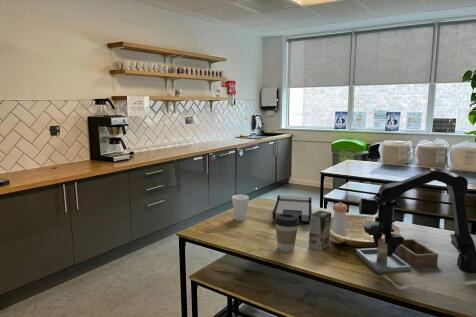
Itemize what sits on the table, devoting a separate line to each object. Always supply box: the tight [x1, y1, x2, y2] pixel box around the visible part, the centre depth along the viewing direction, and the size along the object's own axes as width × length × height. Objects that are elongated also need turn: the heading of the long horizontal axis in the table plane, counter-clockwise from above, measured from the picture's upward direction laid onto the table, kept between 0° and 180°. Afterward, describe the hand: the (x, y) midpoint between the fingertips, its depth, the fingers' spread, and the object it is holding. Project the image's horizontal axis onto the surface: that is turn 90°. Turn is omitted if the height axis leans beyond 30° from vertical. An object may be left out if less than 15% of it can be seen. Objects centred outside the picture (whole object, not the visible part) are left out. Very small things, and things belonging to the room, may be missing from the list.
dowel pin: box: [377, 238, 387, 263], centre depth 143 cm, size 4×4×9 cm
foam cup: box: [231, 194, 250, 222], centre depth 195 cm, size 10×9×13 cm
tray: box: [355, 247, 412, 275], centre depth 143 cm, size 18×14×2 cm
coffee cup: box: [273, 214, 300, 253], centre depth 156 cm, size 11×11×15 cm
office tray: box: [272, 195, 313, 225], centre depth 201 cm, size 21×32×8 cm, turn 168°
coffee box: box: [308, 210, 332, 252], centre depth 158 cm, size 9×6×16 cm
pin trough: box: [393, 238, 439, 268], centre depth 146 cm, size 16×10×6 cm, turn 8°
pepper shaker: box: [330, 201, 349, 244], centre depth 165 cm, size 7×7×19 cm
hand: (382, 251), depth 143 cm, fingers open, 9 cm apart
